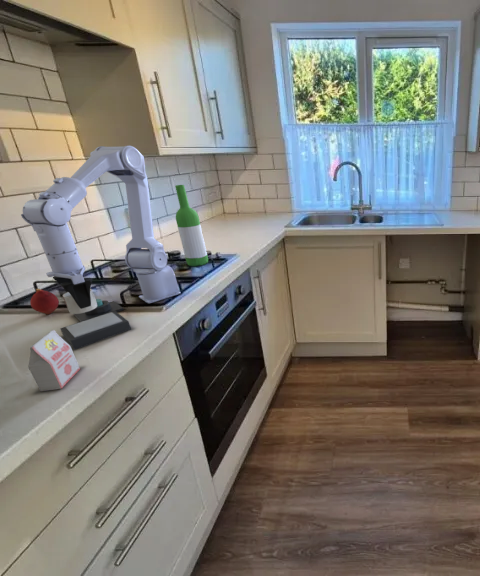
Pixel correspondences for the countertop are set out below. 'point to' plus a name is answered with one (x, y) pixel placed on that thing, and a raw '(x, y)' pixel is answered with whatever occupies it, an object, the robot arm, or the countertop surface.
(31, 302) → the onion
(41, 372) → the printed snack carton
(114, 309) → the pad
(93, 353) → the countertop surface
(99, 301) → the button
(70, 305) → the cup
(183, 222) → the wine bottle
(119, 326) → the scale
